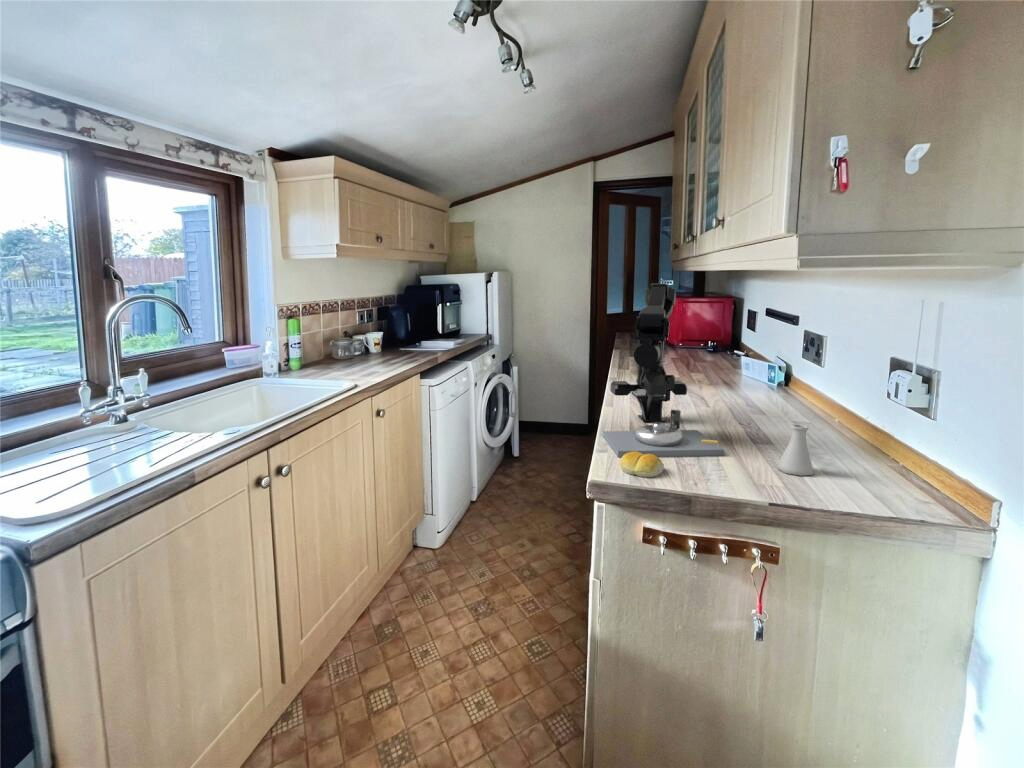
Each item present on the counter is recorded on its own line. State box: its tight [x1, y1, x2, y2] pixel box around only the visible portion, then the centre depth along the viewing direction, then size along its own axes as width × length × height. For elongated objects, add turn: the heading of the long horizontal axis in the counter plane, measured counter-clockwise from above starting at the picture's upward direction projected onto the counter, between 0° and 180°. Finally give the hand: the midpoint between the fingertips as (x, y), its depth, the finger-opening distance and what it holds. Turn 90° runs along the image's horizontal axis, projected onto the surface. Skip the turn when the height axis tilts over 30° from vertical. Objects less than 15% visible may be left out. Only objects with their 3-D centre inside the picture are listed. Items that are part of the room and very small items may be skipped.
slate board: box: [602, 429, 725, 458], centre depth 126 cm, size 16×26×2 cm, turn 93°
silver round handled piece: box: [635, 409, 682, 446], centre depth 127 cm, size 16×11×6 cm
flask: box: [776, 423, 814, 476], centre depth 109 cm, size 7×7×10 cm
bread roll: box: [619, 452, 665, 478], centre depth 110 cm, size 8×9×4 cm
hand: (646, 419), depth 135 cm, fingers closed
